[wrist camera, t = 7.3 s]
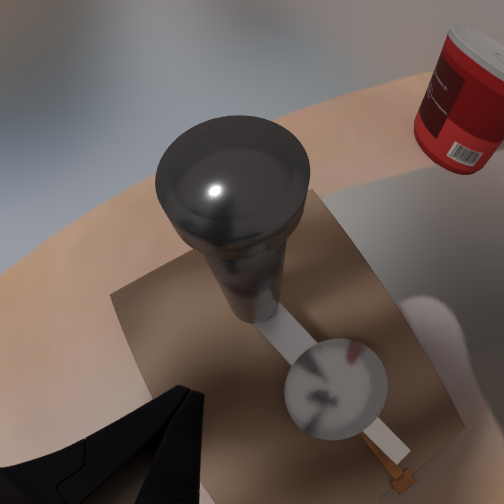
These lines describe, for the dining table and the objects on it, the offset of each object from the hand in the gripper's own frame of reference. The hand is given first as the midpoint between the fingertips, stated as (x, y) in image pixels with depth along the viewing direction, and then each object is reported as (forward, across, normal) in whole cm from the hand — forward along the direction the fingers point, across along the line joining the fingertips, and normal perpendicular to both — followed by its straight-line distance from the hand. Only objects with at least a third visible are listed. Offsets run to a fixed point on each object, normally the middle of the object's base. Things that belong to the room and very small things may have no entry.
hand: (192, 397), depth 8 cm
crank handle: (+6, -4, +3) cm, 8 cm away
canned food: (+22, -13, -10) cm, 28 cm away
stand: (+7, -3, +5) cm, 9 cm away
